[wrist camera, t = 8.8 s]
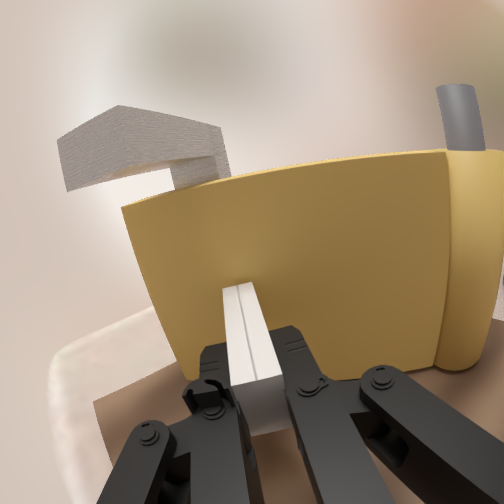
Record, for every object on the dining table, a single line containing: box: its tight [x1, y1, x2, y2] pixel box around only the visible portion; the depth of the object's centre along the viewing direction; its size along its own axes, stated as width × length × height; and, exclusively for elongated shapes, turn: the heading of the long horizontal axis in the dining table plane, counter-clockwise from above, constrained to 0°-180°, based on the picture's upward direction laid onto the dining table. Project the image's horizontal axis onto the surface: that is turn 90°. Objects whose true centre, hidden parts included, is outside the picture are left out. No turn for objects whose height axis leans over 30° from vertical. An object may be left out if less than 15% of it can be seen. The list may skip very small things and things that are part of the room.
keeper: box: [57, 105, 232, 192], centre depth 15 cm, size 12×3×17 cm, turn 171°
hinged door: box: [121, 84, 504, 381], centre depth 13 cm, size 20×4×15 cm, turn 77°
